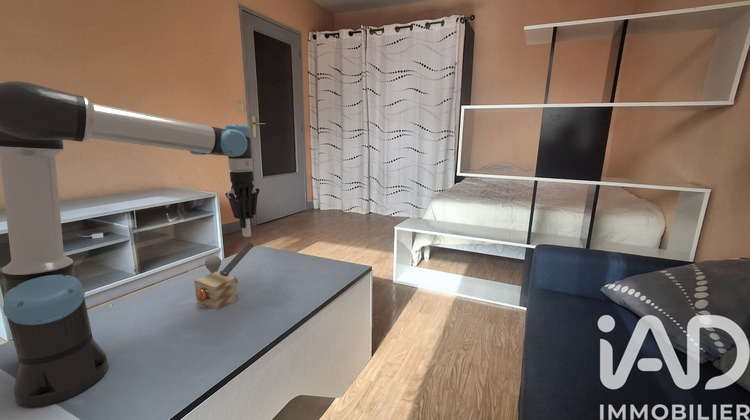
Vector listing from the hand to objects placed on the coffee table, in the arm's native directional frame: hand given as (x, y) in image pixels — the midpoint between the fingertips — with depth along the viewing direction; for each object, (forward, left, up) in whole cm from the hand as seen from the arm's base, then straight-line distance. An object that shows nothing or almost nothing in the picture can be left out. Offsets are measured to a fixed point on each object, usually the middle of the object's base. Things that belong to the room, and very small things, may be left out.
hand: (246, 235), depth 115 cm
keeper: (-4, 0, -8) cm, 9 cm away
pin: (-13, 0, -17) cm, 21 cm away
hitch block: (-14, 0, -19) cm, 24 cm away
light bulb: (-4, +15, -19) cm, 25 cm away
